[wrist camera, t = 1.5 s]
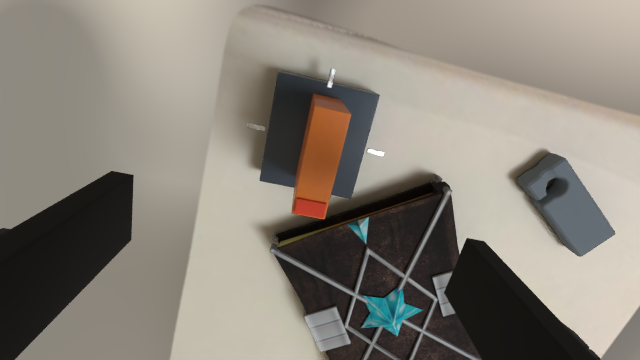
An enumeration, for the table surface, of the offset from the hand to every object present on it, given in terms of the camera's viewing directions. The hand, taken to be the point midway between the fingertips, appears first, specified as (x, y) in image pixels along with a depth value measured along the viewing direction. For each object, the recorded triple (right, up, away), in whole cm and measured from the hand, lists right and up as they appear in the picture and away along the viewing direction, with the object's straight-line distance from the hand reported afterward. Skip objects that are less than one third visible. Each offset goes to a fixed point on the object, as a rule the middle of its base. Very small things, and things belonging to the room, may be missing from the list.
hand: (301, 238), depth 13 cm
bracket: (+24, 0, +20) cm, 31 cm away
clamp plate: (0, +6, +16) cm, 18 cm away
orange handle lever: (0, +6, +14) cm, 15 cm away
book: (+7, -9, +22) cm, 25 cm away
